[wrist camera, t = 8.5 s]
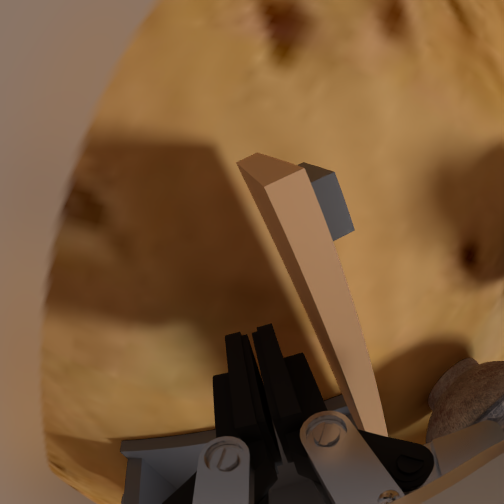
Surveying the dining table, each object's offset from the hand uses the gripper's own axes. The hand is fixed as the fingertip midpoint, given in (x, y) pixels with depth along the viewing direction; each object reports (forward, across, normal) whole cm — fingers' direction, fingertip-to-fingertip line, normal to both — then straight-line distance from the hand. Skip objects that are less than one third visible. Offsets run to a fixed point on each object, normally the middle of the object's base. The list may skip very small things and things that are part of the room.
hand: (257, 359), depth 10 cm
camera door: (+2, -4, +1) cm, 4 cm away
